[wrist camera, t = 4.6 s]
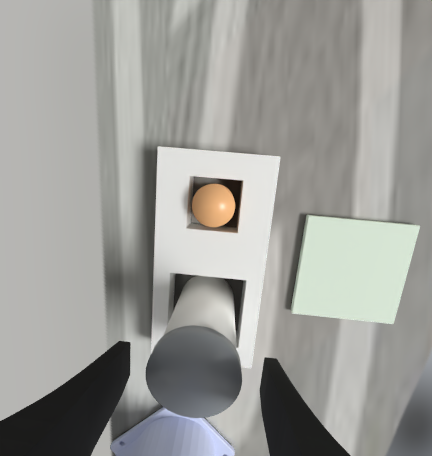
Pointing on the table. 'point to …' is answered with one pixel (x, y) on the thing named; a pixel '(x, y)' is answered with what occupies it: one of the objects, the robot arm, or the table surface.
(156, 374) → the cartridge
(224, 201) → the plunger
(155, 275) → the housing
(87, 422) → the robot arm
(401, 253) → the mat
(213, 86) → the table surface
